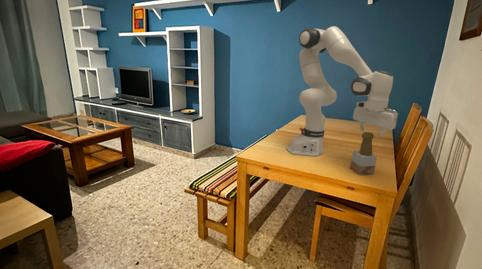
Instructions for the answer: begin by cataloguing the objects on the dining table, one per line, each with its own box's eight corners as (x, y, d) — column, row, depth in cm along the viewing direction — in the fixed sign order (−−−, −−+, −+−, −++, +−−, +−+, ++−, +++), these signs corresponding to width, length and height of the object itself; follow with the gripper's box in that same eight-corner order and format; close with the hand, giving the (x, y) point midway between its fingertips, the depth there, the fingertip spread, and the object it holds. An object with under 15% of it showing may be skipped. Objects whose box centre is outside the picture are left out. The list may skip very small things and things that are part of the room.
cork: (357, 151, 130) (359, 131, 127) (369, 151, 129) (371, 131, 126) (361, 155, 124) (364, 134, 121) (374, 155, 124) (377, 134, 120)
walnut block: (359, 175, 125) (361, 166, 124) (350, 168, 133) (351, 160, 131) (373, 174, 127) (375, 165, 125) (363, 167, 134) (365, 159, 133)
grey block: (360, 166, 124) (361, 157, 122) (351, 159, 132) (353, 151, 130) (375, 165, 125) (377, 156, 123) (365, 159, 133) (367, 150, 131)
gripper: (402, 110, 112) (394, 138, 117) (361, 101, 129) (356, 126, 133) (395, 111, 109) (387, 140, 114) (354, 102, 126) (348, 128, 130)
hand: (370, 133), depth 124 cm, fingers open, 8 cm apart
